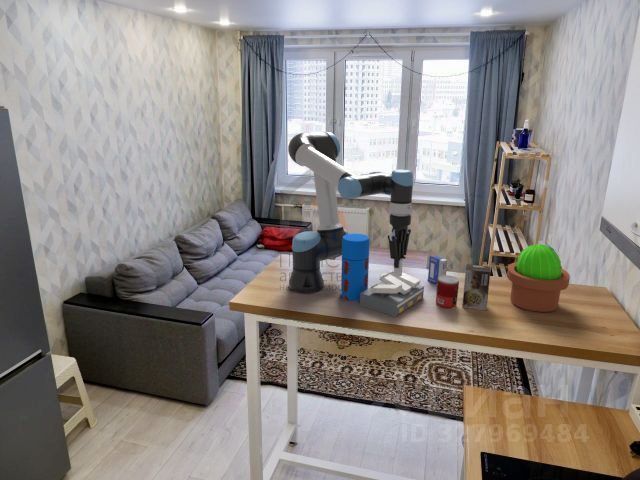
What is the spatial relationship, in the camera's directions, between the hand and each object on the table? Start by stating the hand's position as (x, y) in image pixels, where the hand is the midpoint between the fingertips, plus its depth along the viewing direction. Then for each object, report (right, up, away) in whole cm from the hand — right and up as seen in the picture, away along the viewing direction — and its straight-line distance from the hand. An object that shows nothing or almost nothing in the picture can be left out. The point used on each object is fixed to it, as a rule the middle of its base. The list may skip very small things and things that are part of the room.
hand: (397, 275), depth 173 cm
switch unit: (0, -11, +13) cm, 17 cm away
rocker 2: (+1, -4, +10) cm, 11 cm away
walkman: (+22, -6, +32) cm, 39 cm away
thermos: (-15, -10, +19) cm, 26 cm away
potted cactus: (+56, -12, +12) cm, 59 cm away
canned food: (+21, -13, +10) cm, 27 cm away
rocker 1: (-4, -6, +5) cm, 8 cm away
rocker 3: (+5, -2, +15) cm, 16 cm away
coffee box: (+32, -13, +9) cm, 35 cm away
